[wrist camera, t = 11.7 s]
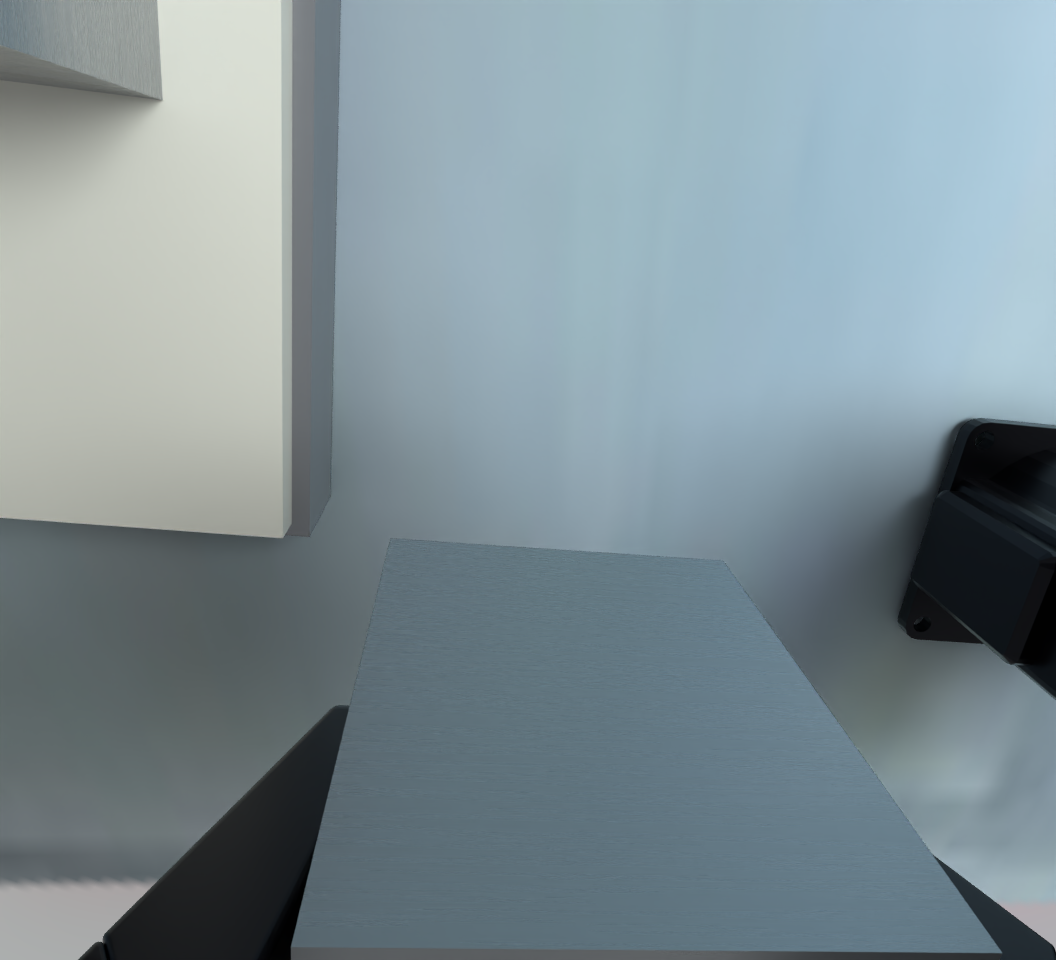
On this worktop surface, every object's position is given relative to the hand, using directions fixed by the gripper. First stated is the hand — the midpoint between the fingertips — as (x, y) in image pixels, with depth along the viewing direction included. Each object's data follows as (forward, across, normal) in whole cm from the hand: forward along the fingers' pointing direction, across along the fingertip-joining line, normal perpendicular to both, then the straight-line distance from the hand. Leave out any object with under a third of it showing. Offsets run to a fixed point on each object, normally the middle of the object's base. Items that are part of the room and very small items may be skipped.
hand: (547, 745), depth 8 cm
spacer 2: (+1, 0, 0) cm, 1 cm away
